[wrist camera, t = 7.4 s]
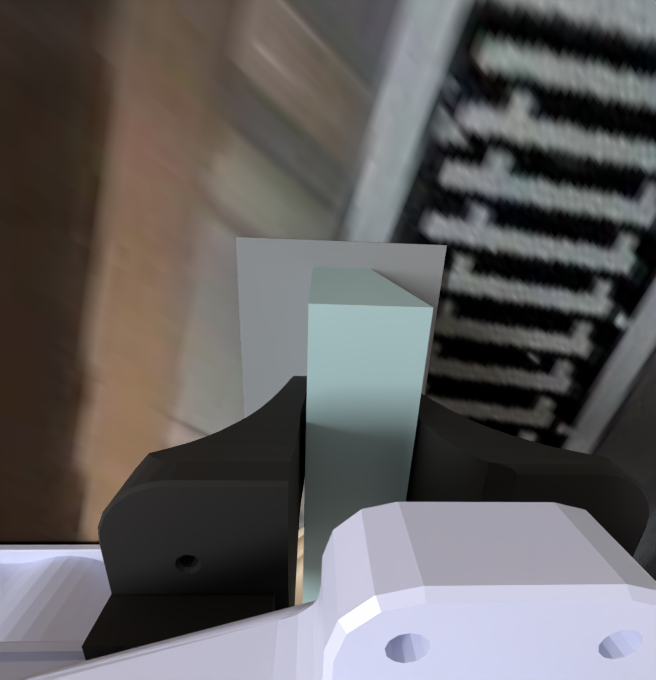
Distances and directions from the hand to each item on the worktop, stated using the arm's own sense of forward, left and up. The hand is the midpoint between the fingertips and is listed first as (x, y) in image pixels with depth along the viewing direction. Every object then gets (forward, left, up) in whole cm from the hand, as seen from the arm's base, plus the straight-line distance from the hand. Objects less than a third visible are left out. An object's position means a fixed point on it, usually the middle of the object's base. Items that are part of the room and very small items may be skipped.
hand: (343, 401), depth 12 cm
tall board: (0, 0, -4) cm, 4 cm away
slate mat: (0, 0, -4) cm, 4 cm away
